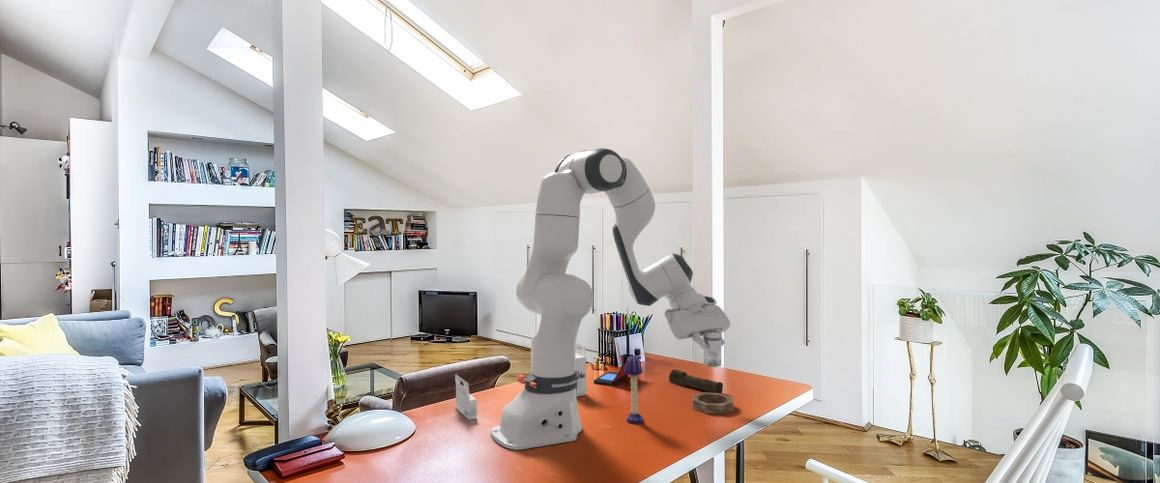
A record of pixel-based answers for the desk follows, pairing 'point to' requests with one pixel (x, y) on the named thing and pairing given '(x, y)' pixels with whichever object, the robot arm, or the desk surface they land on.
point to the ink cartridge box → (465, 399)
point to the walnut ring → (712, 403)
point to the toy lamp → (634, 388)
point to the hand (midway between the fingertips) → (714, 346)
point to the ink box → (580, 369)
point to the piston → (712, 349)
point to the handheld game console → (612, 377)
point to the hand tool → (694, 382)
